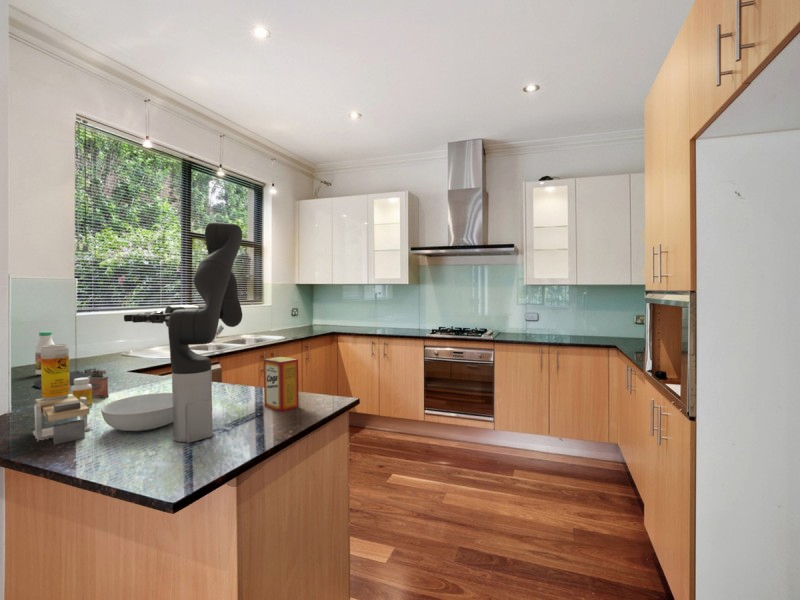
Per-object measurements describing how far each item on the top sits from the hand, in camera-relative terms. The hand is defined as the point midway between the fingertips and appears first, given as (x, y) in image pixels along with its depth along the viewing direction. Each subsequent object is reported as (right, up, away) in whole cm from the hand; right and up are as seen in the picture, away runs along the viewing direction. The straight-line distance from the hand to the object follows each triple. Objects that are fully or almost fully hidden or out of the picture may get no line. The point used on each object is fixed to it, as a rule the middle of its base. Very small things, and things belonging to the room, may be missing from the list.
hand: (128, 318), depth 128 cm
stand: (-4, -30, -20) cm, 36 cm away
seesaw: (-6, -23, -18) cm, 30 cm away
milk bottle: (-80, -29, +62) cm, 106 cm away
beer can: (-13, -22, -12) cm, 28 cm away
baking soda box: (+47, -29, +5) cm, 56 cm away
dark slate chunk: (-55, -30, +45) cm, 77 cm away
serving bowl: (+14, -30, -13) cm, 35 cm away
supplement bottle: (-19, -30, +6) cm, 36 cm away
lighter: (-24, -30, +20) cm, 43 cm away
